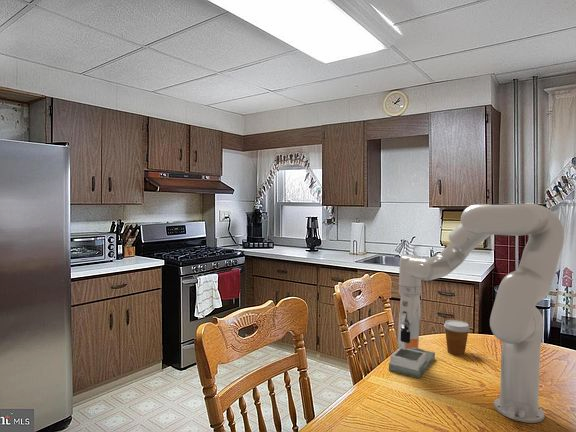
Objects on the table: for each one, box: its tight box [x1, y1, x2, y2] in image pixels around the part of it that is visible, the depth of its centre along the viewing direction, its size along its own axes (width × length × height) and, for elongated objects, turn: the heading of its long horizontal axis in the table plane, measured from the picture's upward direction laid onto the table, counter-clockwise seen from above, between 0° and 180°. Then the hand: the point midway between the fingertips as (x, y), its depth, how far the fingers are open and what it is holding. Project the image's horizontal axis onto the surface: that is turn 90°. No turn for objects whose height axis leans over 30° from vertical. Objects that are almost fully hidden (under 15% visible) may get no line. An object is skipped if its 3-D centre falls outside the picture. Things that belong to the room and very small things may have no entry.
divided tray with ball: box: [388, 346, 436, 379], centre depth 146 cm, size 20×11×6 cm, turn 146°
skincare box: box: [397, 313, 421, 350], centre depth 141 cm, size 6×4×12 cm
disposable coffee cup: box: [443, 319, 470, 357], centre depth 157 cm, size 10×10×12 cm
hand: (408, 338), depth 141 cm, fingers closed on skincare box, 7 cm apart
